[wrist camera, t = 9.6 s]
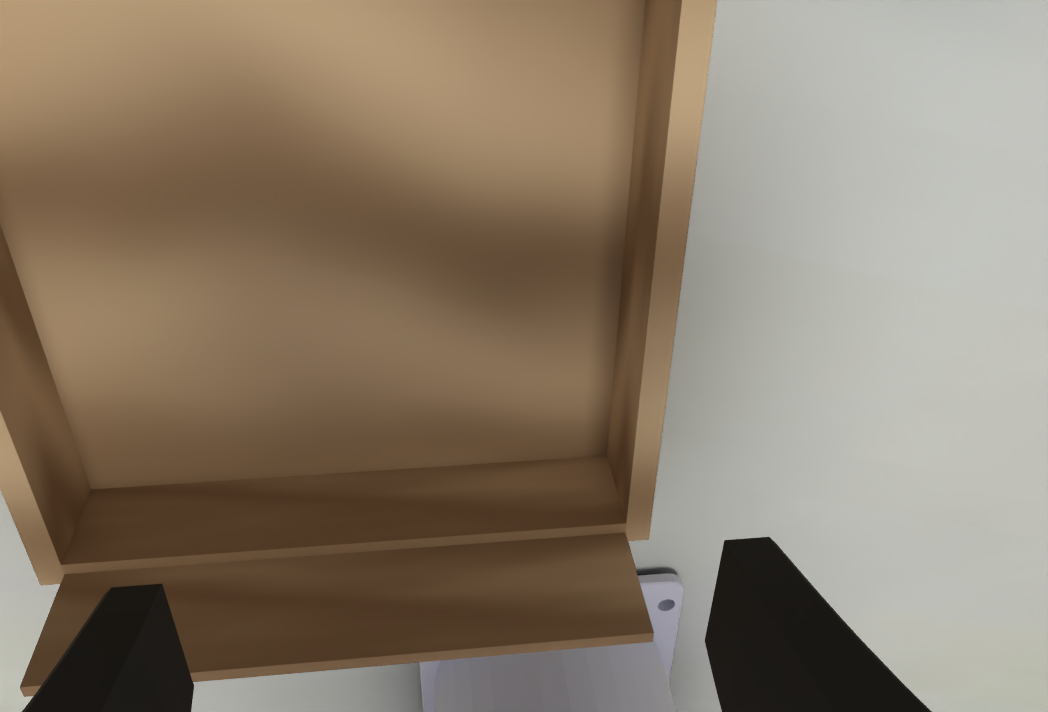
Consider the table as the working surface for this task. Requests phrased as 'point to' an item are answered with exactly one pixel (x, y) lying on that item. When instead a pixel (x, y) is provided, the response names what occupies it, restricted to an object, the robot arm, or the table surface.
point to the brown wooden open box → (343, 316)
